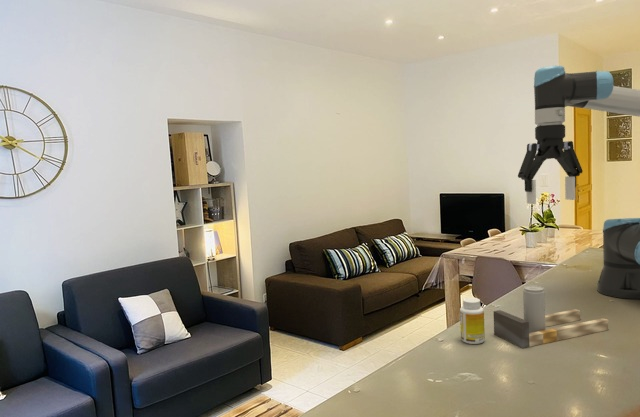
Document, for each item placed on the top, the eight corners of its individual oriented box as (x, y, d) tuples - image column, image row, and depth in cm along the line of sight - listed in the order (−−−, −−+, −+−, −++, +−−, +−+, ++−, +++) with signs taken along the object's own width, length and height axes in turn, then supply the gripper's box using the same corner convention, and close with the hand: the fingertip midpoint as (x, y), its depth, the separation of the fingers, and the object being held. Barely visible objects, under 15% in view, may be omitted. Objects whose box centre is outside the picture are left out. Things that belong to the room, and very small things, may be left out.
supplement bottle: (489, 341, 117) (488, 300, 116) (472, 346, 115) (471, 304, 114) (473, 335, 122) (472, 295, 121) (456, 339, 120) (454, 299, 119)
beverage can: (547, 339, 117) (547, 290, 116) (526, 339, 118) (525, 290, 117) (542, 332, 121) (542, 285, 120) (522, 331, 122) (521, 285, 121)
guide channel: (575, 318, 130) (575, 296, 129) (608, 329, 120) (608, 306, 120) (494, 334, 122) (493, 311, 121) (522, 348, 112) (521, 322, 112)
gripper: (522, 125, 126) (524, 206, 128) (596, 121, 134) (597, 198, 136) (503, 127, 133) (505, 204, 135) (574, 124, 141) (575, 197, 143)
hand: (551, 201), depth 136 cm, fingers open, 13 cm apart
